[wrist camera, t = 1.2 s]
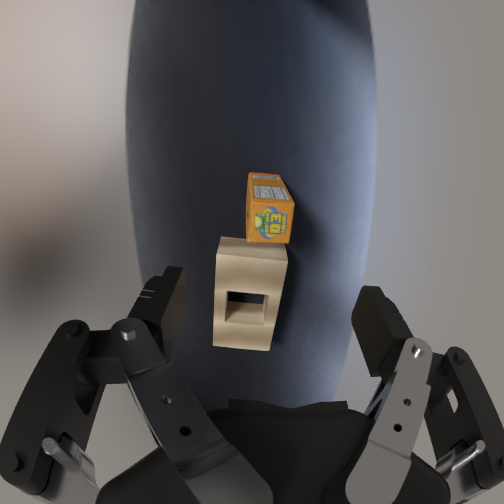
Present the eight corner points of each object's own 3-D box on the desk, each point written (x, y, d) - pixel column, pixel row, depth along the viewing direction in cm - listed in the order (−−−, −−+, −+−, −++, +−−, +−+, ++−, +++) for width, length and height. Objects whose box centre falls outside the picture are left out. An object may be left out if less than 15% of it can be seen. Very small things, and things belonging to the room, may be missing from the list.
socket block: (221, 236, 31) (216, 253, 27) (284, 243, 31) (288, 261, 27) (216, 324, 37) (213, 345, 33) (268, 329, 37) (269, 350, 33)
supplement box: (279, 204, 29) (289, 248, 20) (246, 201, 29) (241, 244, 20) (282, 173, 27) (295, 204, 18) (248, 170, 27) (244, 199, 18)
